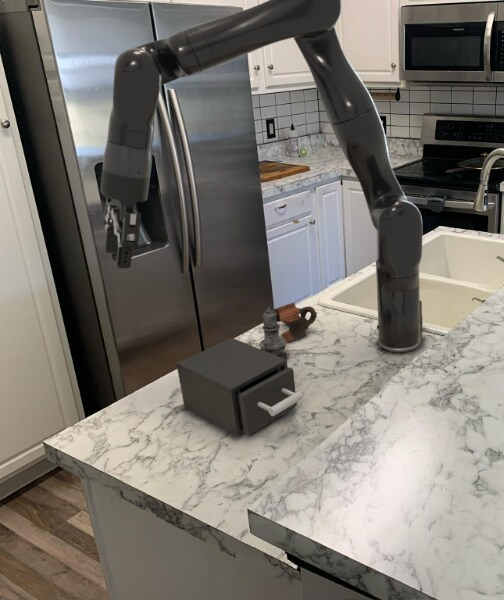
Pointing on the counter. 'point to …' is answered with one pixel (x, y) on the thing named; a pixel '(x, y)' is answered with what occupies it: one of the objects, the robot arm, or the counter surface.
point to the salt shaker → (272, 335)
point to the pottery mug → (295, 320)
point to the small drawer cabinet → (223, 380)
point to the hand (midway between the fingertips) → (117, 259)
